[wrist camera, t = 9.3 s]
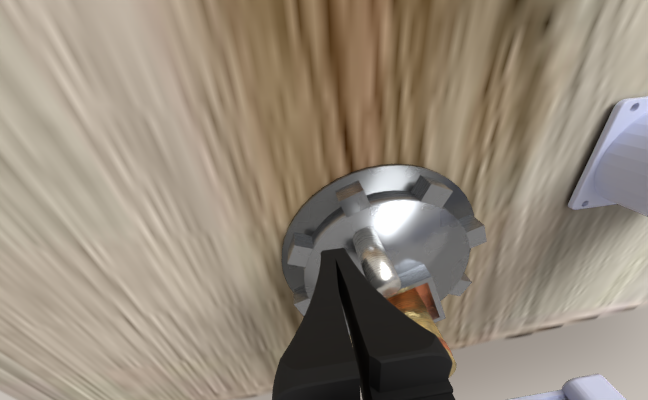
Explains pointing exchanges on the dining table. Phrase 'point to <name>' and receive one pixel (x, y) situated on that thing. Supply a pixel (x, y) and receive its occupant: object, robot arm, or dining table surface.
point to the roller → (419, 315)
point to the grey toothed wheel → (394, 243)
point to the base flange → (371, 182)
